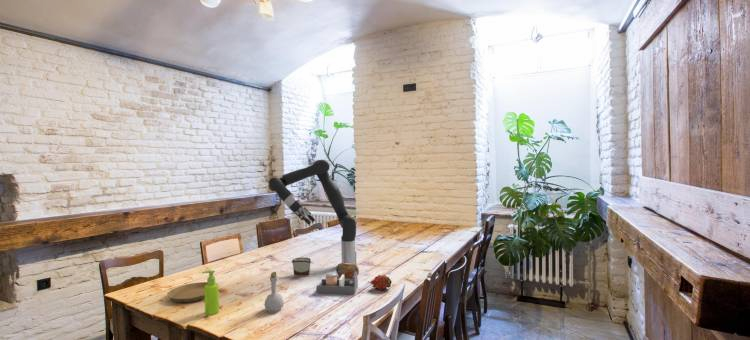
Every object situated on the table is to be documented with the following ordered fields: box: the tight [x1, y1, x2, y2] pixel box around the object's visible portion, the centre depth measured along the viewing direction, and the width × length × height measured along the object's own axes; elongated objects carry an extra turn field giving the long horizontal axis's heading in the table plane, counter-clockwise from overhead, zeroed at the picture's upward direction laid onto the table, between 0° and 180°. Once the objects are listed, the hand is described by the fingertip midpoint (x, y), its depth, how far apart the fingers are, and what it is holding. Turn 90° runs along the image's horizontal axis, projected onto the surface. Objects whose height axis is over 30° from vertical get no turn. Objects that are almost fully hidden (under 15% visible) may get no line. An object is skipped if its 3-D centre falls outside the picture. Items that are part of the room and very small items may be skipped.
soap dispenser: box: [201, 269, 220, 316], centre depth 165 cm, size 6×7×20 cm
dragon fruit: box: [369, 274, 393, 291], centre depth 193 cm, size 8×8×12 cm
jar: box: [325, 271, 338, 286], centre depth 192 cm, size 6×6×8 cm
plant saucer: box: [166, 281, 207, 304], centre depth 187 cm, size 24×24×3 cm
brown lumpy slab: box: [336, 262, 360, 280], centre depth 213 cm, size 15×3×8 cm, turn 62°
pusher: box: [339, 274, 345, 286], centre depth 192 cm, size 1×8×6 cm, turn 174°
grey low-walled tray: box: [316, 272, 359, 296], centre depth 192 cm, size 20×11×9 cm, turn 84°
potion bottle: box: [263, 271, 285, 314], centre depth 168 cm, size 9×9×18 cm
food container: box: [291, 256, 312, 277], centre depth 219 cm, size 12×6×10 cm, turn 84°
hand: (312, 222), depth 212 cm, fingers open, 8 cm apart
